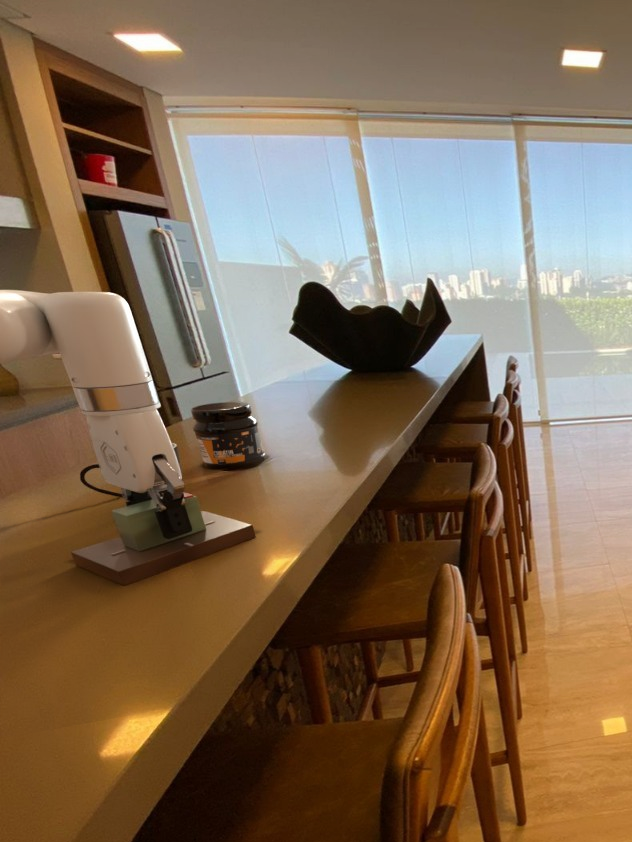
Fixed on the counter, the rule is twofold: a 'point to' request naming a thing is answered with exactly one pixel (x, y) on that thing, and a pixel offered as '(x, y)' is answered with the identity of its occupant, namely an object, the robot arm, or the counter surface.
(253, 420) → the supplement container
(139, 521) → the green box
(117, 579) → the base
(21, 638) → the counter surface
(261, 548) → the counter surface
